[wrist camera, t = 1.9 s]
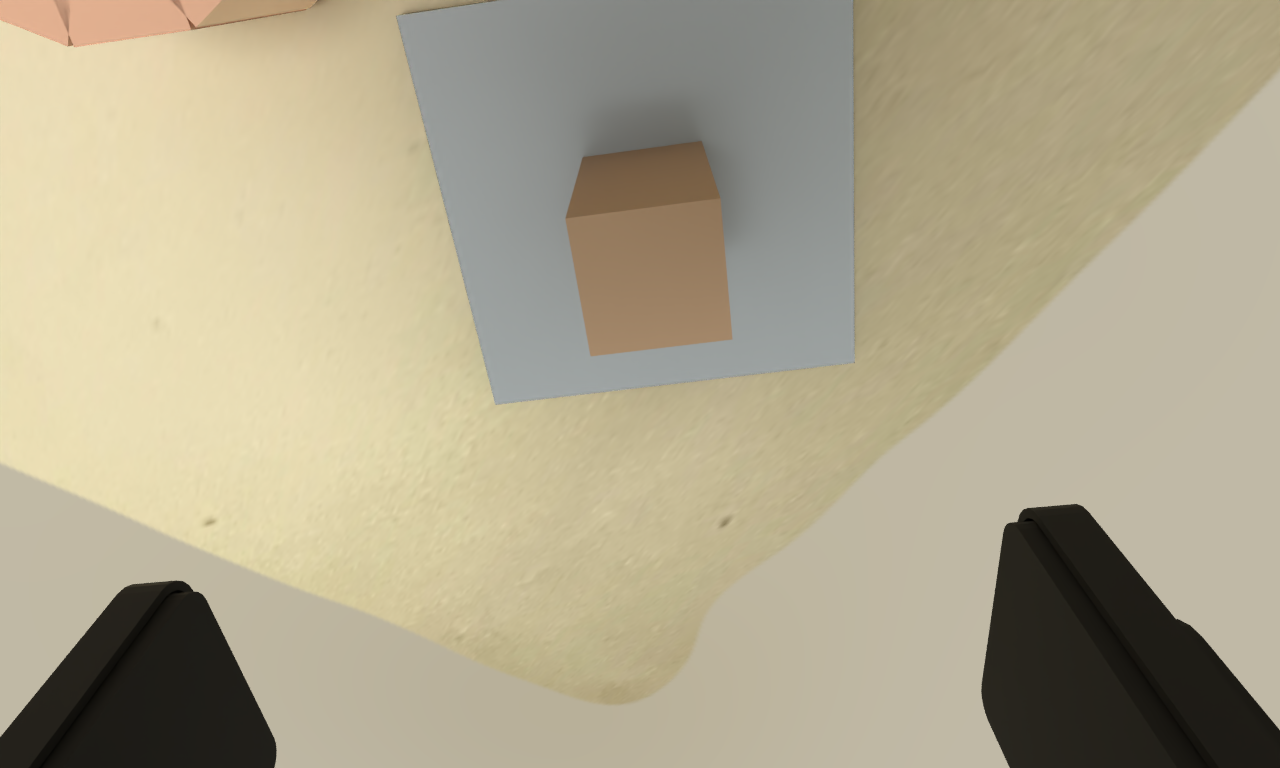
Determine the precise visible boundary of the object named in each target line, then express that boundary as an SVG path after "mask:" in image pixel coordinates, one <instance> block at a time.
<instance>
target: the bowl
mask: <svg viewBox="0 0 1280 768" xmlns="http://www.w3.org/2000/svg"><path fill="white" fill-rule="evenodd" d="M317 1H318V0H0V20H2V21H5V22H8V23H10V24H13V25H15V26H18V27H20V28H23V29H25V30H28V31H30V32H33V33H35V34H38V35H40V36H43V37H46V38H48V39H51V40H53V41H56V42H58V43H61V44H63V45H66V46H72V45H73V46H74V47H79V46H85V45H92V44H99V43H106V42H113V41H120V40H126V39H133V38H140V37H147V36H154V35H160V34H167V33H174V32H181V31H188V30H194V29H200V28H205V27H211V26H217V25H223V24H228V23H234V22H240V21H246V20H251V19H257V18H263V17H268V16H274V15H280V14H286V13H291V12H297V11H303V10H306V9H307V8H311V7H312V6H313V5H314V4H315V3H316V2H317Z"/></svg>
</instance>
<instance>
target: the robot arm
mask: <svg viewBox="0 0 1280 768" xmlns="http://www.w3.org/2000/svg"><path fill="white" fill-rule="evenodd" d="M982 700H983V706H984V709H985V713H986V716H987V719H988V721H989V723H990V726H991V728H992V730H993V732H994V734H995V736H996V739H997V741H998V743H999V745H1000V747H1001V749H1002V752H1003V754H1004V756H1005V758H1006V760H1007V763H1008V765H1009V767H1010V768H1280V730H1279V729H1278V728H1277V726H1276V725H1275V724H1274V723H1273V721H1272V720H1271V719H1270V718H1269V717H1268V715H1267V714H1266V713H1265V712H1264V711H1263V709H1262V708H1261V707H1260V706H1259V705H1258V703H1257V702H1256V701H1255V700H1254V699H1253V697H1252V696H1251V695H1250V694H1249V693H1248V691H1247V690H1246V689H1245V688H1244V687H1243V685H1242V684H1241V683H1240V682H1239V681H1238V679H1237V678H1236V677H1235V676H1234V675H1233V674H1232V672H1231V671H1230V670H1229V668H1228V667H1227V666H1226V665H1225V664H1224V662H1223V661H1222V660H1221V659H1220V658H1219V656H1218V655H1217V654H1216V653H1215V652H1214V650H1213V649H1212V648H1211V647H1210V646H1209V645H1208V643H1207V642H1206V641H1205V640H1204V638H1203V637H1202V636H1200V634H1199V633H1198V632H1196V631H1195V630H1194V629H1193V628H1192V627H1191V626H1190V625H1188V624H1186V623H1184V622H1182V621H1180V620H1178V619H1175V618H1174V616H1173V615H1172V614H1171V613H1170V611H1169V610H1168V609H1167V608H1166V607H1165V605H1164V604H1163V603H1162V602H1161V600H1160V599H1159V598H1158V597H1157V596H1156V594H1155V593H1154V592H1153V591H1152V589H1151V588H1150V587H1149V586H1148V585H1147V583H1146V582H1145V581H1144V580H1143V578H1142V577H1141V576H1140V575H1139V573H1138V572H1137V571H1136V570H1135V569H1134V567H1133V566H1132V565H1131V564H1130V562H1129V561H1128V560H1127V559H1126V557H1125V556H1124V555H1123V554H1122V552H1121V551H1120V550H1119V549H1118V548H1117V546H1116V545H1115V544H1114V543H1113V541H1112V540H1111V539H1110V538H1109V537H1108V535H1107V534H1106V533H1105V532H1104V530H1103V529H1102V528H1101V527H1100V526H1099V524H1098V523H1097V522H1096V520H1095V519H1094V518H1093V517H1092V516H1091V514H1090V513H1089V512H1088V511H1087V510H1086V509H1085V508H1084V507H1083V506H1080V505H1077V504H1071V505H1060V506H1048V507H1036V508H1027V509H1024V510H1023V511H1022V512H1021V513H1020V515H1019V519H1018V522H1014V523H1008V524H1007V525H1006V526H1005V529H1004V532H1003V539H1002V546H1001V553H1000V560H999V567H998V574H997V581H996V588H995V595H994V602H993V609H992V616H991V623H990V630H989V637H988V644H987V651H986V659H985V665H984V672H983V679H982ZM275 762H276V743H275V739H274V737H273V735H272V733H271V731H270V729H269V727H268V724H267V722H266V720H265V719H264V717H263V714H262V712H261V710H260V708H259V706H258V704H257V702H256V700H255V698H254V696H253V694H252V692H251V690H250V688H249V686H248V684H247V682H246V680H245V678H244V676H243V674H242V672H241V670H240V667H239V666H238V663H237V661H236V660H235V657H234V655H233V653H232V651H231V650H230V647H229V645H228V643H227V641H226V639H225V637H224V635H223V633H222V631H221V629H220V627H219V625H218V623H217V621H216V619H215V617H214V615H213V612H212V611H211V609H210V607H209V604H208V603H207V600H206V599H205V597H204V596H203V595H202V594H200V593H199V592H193V590H192V589H191V587H190V586H189V585H188V584H186V583H185V582H183V581H168V582H156V583H144V584H133V585H130V586H127V587H125V588H124V589H123V590H121V591H120V592H119V593H118V594H117V595H116V597H115V598H114V599H113V600H112V601H111V603H110V604H109V605H108V606H107V608H106V609H105V610H104V611H103V612H102V614H101V615H100V616H99V617H98V618H97V620H96V621H95V622H94V623H93V625H92V626H91V627H90V628H89V629H88V631H87V632H86V633H85V635H84V636H83V637H82V638H81V639H80V640H79V642H78V643H77V644H76V645H75V647H74V648H73V649H72V650H71V651H70V653H69V654H68V655H67V656H66V658H65V659H64V660H63V661H62V662H61V664H60V665H59V666H58V667H57V669H56V670H55V671H54V672H53V673H52V675H51V676H50V677H49V678H48V680H47V681H46V682H45V683H44V685H43V686H42V687H41V688H40V689H39V691H38V692H37V693H36V694H35V696H34V697H33V698H32V699H31V700H30V702H29V703H28V704H27V705H26V706H25V708H24V709H23V710H22V712H21V713H20V714H19V715H18V716H17V718H16V719H15V720H14V721H13V722H12V724H11V725H10V726H9V727H8V728H7V730H6V731H5V732H4V733H3V735H2V736H1V737H0V768H274V767H275Z"/></svg>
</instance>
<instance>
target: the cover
mask: <svg viewBox="0 0 1280 768" xmlns="http://www.w3.org/2000/svg"><path fill="white" fill-rule="evenodd" d="M396 17H397V21H398V25H399V29H400V33H401V37H402V41H403V45H404V48H405V52H406V56H407V60H408V64H409V68H410V72H411V76H412V80H413V84H414V88H415V92H416V95H417V99H418V103H419V107H420V111H421V115H422V119H423V123H424V127H425V131H426V135H427V139H428V142H429V146H430V150H431V154H432V158H433V162H434V166H435V170H436V174H437V178H438V182H439V186H440V189H441V193H442V197H443V201H444V205H445V209H446V213H447V217H448V221H449V225H450V229H451V233H452V236H453V240H454V244H455V248H456V252H457V256H458V260H459V264H460V268H461V272H462V276H463V280H464V283H465V287H466V291H467V295H468V299H469V303H470V307H471V311H472V315H473V319H474V323H475V326H476V330H477V334H478V338H479V342H480V346H481V350H482V354H483V358H484V362H485V366H486V370H487V373H488V377H489V381H490V385H491V389H492V393H493V397H494V401H495V405H497V404H505V403H514V402H523V401H531V400H540V399H548V398H557V397H565V396H574V395H583V394H591V393H600V392H608V391H617V390H625V389H634V388H642V387H651V386H660V385H668V384H677V383H685V382H694V381H702V380H711V379H720V378H728V377H737V376H745V375H754V374H762V373H771V372H780V371H788V370H797V369H805V368H814V367H822V366H831V365H840V364H848V363H855V352H854V93H853V0H495V1H488V2H482V3H475V4H468V5H462V6H455V7H448V8H442V9H435V10H428V11H422V12H415V13H408V14H402V15H398V16H396Z"/></svg>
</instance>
